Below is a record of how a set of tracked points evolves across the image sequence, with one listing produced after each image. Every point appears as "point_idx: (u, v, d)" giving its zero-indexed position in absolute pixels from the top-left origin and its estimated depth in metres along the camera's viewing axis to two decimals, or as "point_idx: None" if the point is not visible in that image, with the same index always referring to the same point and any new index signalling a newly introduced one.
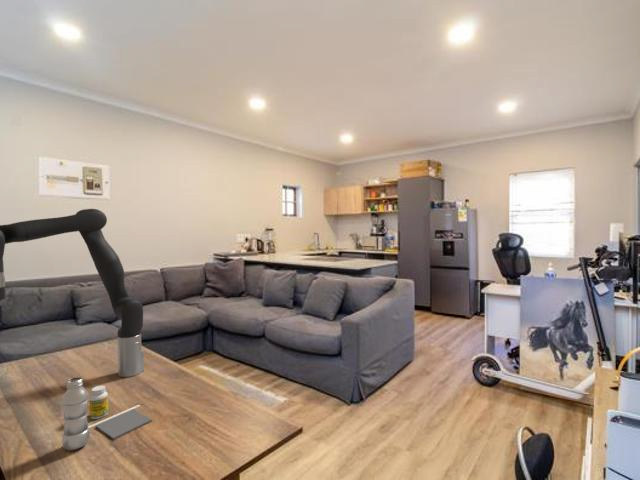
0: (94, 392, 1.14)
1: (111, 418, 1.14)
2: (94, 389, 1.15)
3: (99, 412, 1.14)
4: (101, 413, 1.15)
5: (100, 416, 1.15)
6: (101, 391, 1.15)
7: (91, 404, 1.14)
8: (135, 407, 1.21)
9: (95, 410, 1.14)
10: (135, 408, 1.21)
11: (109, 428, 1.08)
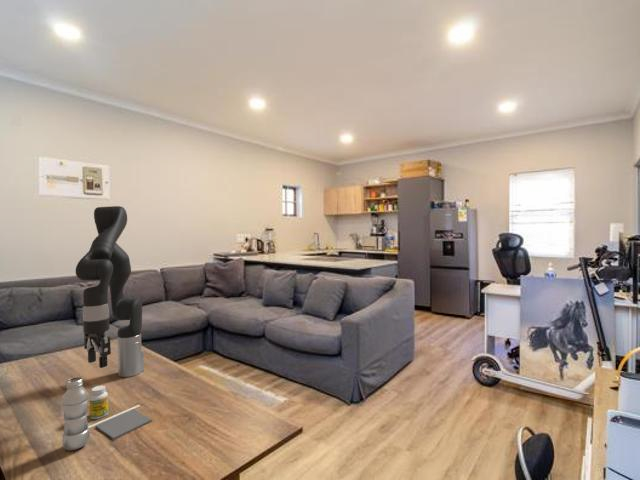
0: (94, 392, 1.14)
1: (111, 418, 1.14)
2: (94, 390, 1.15)
3: (99, 412, 1.14)
4: (101, 413, 1.15)
5: (100, 416, 1.15)
6: (101, 391, 1.15)
7: (91, 404, 1.14)
8: (135, 407, 1.21)
9: (95, 410, 1.14)
10: (135, 408, 1.21)
11: (109, 428, 1.08)
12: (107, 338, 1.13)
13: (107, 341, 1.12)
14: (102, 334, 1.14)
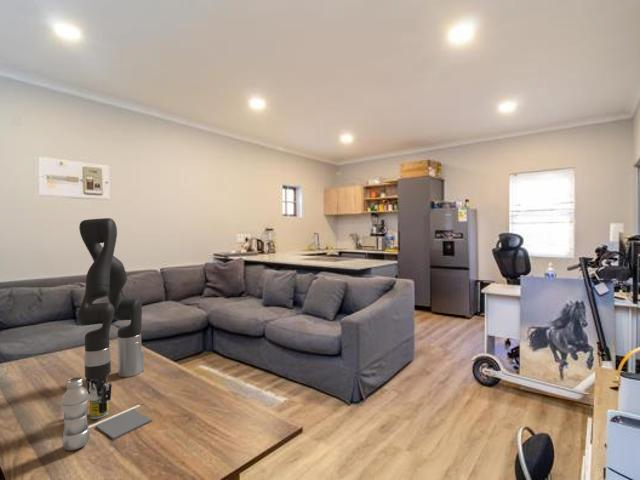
0: (94, 392, 1.14)
1: (111, 418, 1.14)
2: (94, 389, 1.15)
3: None
4: None
5: (100, 416, 1.15)
6: (101, 391, 1.15)
7: (91, 404, 1.14)
8: (135, 407, 1.21)
9: (95, 410, 1.14)
10: (135, 408, 1.21)
11: (109, 428, 1.08)
12: (109, 385, 1.13)
13: (108, 389, 1.13)
14: (104, 378, 1.14)
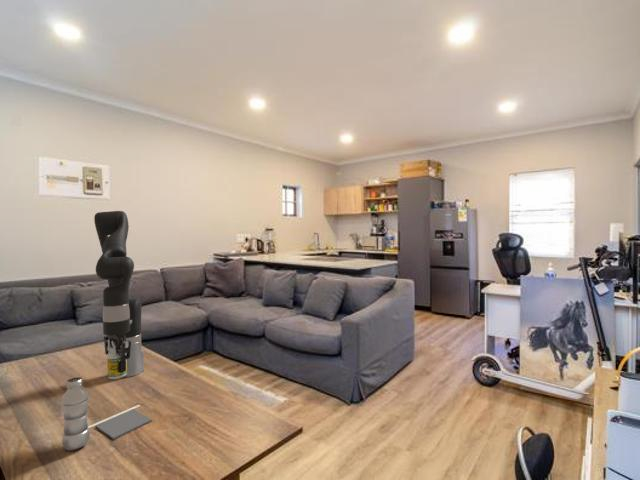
0: (113, 350, 1.08)
1: (111, 418, 1.14)
2: (112, 348, 1.09)
3: (117, 371, 1.08)
4: (120, 373, 1.08)
5: (118, 376, 1.08)
6: None
7: (109, 363, 1.08)
8: (135, 407, 1.21)
9: (114, 370, 1.07)
10: (135, 408, 1.21)
11: (109, 428, 1.08)
12: (128, 342, 1.07)
13: (128, 346, 1.07)
14: (123, 336, 1.08)
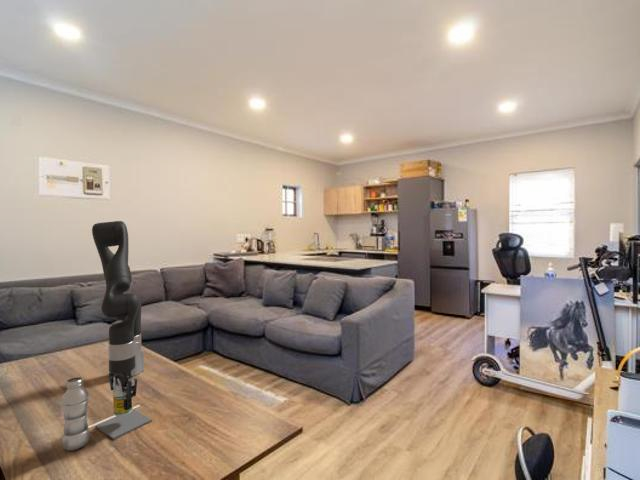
0: (118, 388, 1.08)
1: (111, 418, 1.14)
2: (118, 385, 1.09)
3: None
4: (126, 410, 1.09)
5: (124, 413, 1.09)
6: (125, 387, 1.09)
7: (115, 400, 1.08)
8: (135, 407, 1.21)
9: (120, 407, 1.08)
10: (135, 408, 1.21)
11: (109, 428, 1.08)
12: (134, 380, 1.07)
13: (134, 384, 1.07)
14: (129, 373, 1.08)
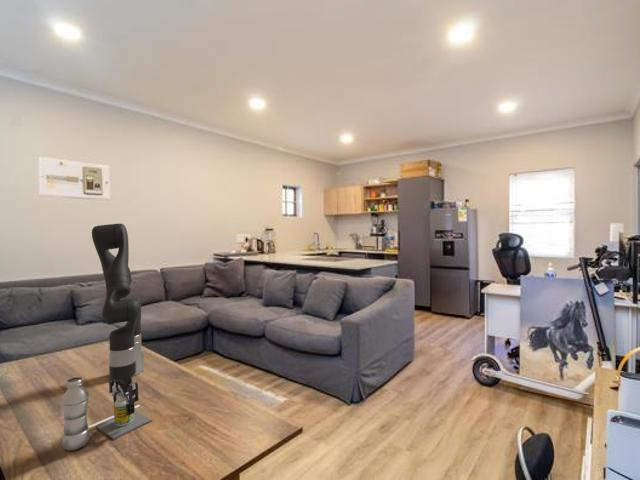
0: (119, 398, 1.09)
1: (111, 418, 1.14)
2: (119, 395, 1.09)
3: (124, 419, 1.09)
4: (126, 420, 1.09)
5: (125, 423, 1.09)
6: None
7: (116, 410, 1.08)
8: (135, 407, 1.21)
9: (121, 417, 1.08)
10: (135, 408, 1.21)
11: (109, 428, 1.08)
12: (135, 384, 1.07)
13: (135, 387, 1.07)
14: (129, 379, 1.09)
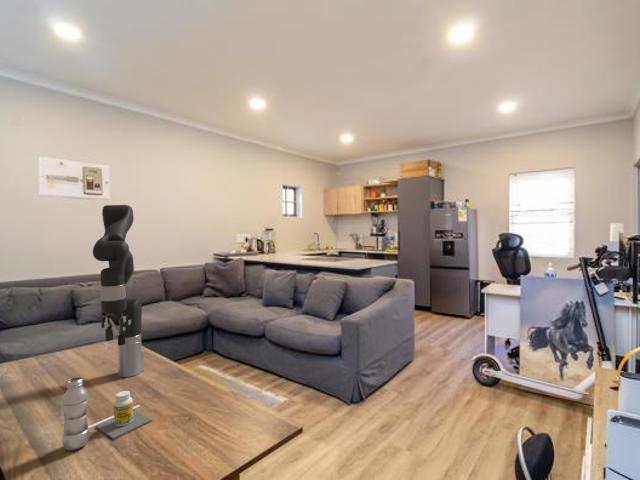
0: (119, 398, 1.09)
1: (111, 418, 1.14)
2: (119, 395, 1.09)
3: (124, 419, 1.09)
4: (126, 420, 1.09)
5: (125, 423, 1.09)
6: (126, 397, 1.10)
7: (116, 410, 1.08)
8: (135, 407, 1.21)
9: (121, 417, 1.08)
10: (135, 408, 1.21)
11: (109, 428, 1.08)
12: (125, 317, 1.16)
13: (125, 320, 1.16)
14: (120, 313, 1.17)
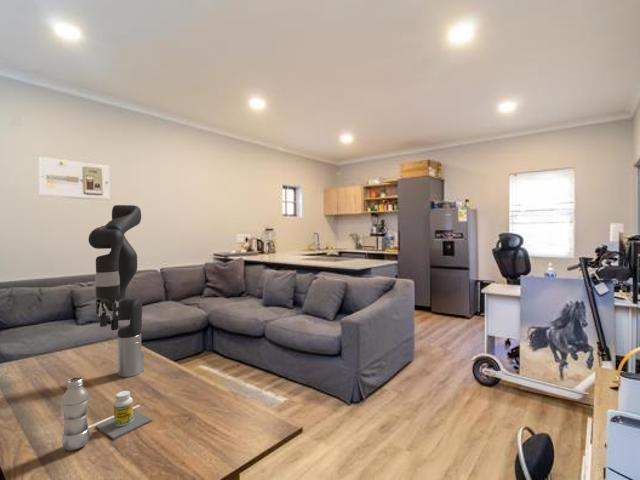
0: (119, 398, 1.09)
1: (111, 418, 1.14)
2: (119, 395, 1.09)
3: (124, 419, 1.09)
4: (126, 420, 1.09)
5: (125, 423, 1.09)
6: (126, 397, 1.10)
7: (116, 410, 1.08)
8: (135, 407, 1.21)
9: (121, 417, 1.08)
10: (135, 408, 1.21)
11: (109, 428, 1.08)
12: (118, 302, 1.20)
13: (118, 305, 1.20)
14: (113, 299, 1.21)
